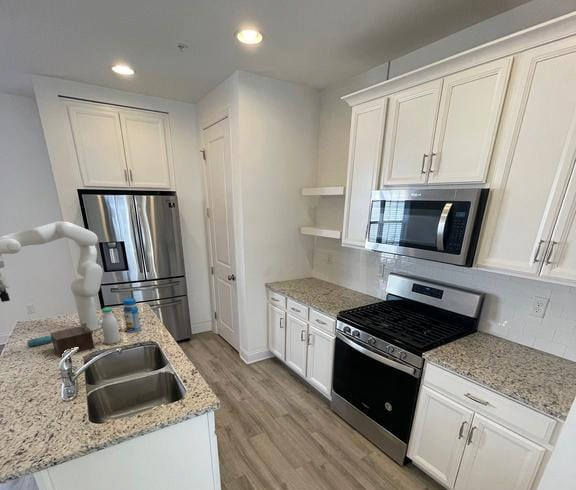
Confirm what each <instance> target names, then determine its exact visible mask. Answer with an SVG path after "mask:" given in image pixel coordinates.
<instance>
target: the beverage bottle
mask: <svg viewBox="0 0 576 490" xmlns="http://www.w3.org/2000/svg"><path fill="white" fill-rule="evenodd" d="M122 301H123V317H124V321H125V329H126V332H129V333H134V332H138V331H141V328H142V327H141V321H140V312H139V308H138V306H137V305H136V304H137V301H136V298H134V297H127V298H123V300H122Z"/></svg>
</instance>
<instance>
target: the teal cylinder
mask: <svg viewBox="0 0 576 490" xmlns="http://www.w3.org/2000/svg"><path fill="white" fill-rule="evenodd" d="M49 343H52V339H51V335H44V336H40V337H35V338H31V339H28V340H27V345H28V346H29V347H31V348H32V347H33V348H34V347H37V346H41V345H45V344H49Z"/></svg>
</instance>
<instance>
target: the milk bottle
mask: <svg viewBox="0 0 576 490" xmlns="http://www.w3.org/2000/svg"><path fill="white" fill-rule="evenodd" d="M102 314H103V316H102V319H101V320H102V324H101V325H102V327H101V328H102V333H103V338H104V339H103V340H104V343H105V344H107V345H113V344H117V343H119V342H120V341H121V335H120V329H119V324H118V321H117V318H115V316H114V314H113V309H112V307H103V308H102Z"/></svg>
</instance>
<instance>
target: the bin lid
mask: <svg viewBox="0 0 576 490" xmlns="http://www.w3.org/2000/svg"><path fill="white" fill-rule="evenodd" d="M80 323H81V325H80V326H75V327H72V328H66V329H63V330H58V331H52V332H50V333H49V336H52V337H53V338H54V339H55V340H56V341H60V340H64V339H69V338H73V337H77V336H81V335H86V334H90V333H92V334H93V333H94V331H92V330H90V329H89V328H88V327H86V325H87V324H86V323H85V322H84V321H82V320H81V321H80V320H79V324H80ZM83 325H84V326H83Z"/></svg>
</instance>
